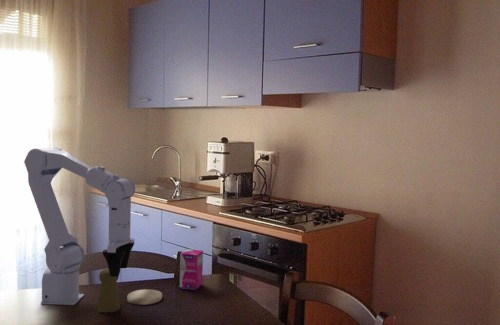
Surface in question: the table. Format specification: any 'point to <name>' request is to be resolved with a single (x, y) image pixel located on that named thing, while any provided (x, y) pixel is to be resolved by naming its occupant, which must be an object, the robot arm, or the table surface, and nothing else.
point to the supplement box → (191, 269)
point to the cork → (108, 293)
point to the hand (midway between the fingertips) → (118, 271)
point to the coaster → (144, 297)
